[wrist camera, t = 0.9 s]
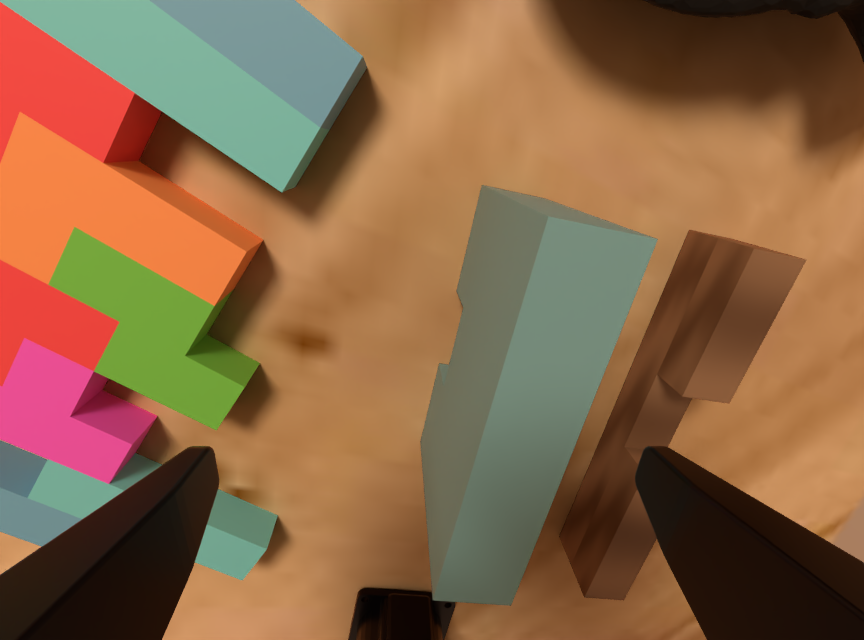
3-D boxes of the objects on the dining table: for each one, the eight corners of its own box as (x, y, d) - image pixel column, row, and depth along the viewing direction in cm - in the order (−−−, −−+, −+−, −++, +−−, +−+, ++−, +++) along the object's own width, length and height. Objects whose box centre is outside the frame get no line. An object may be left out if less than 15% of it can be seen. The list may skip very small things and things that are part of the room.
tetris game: (-343, 338, 19) (236, 565, 27) (-457, 368, 17) (219, 609, 25) (-230, -420, 12) (522, 195, 20) (-405, -577, 9) (540, 203, 17)
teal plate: (472, 448, 24) (511, 605, 16) (420, 441, 24) (432, 600, 16) (545, 198, 19) (657, 239, 11) (481, 184, 19) (548, 216, 11)
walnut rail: (593, 539, 28) (623, 600, 24) (559, 536, 27) (584, 597, 24) (733, 239, 21) (806, 259, 17) (689, 229, 20) (754, 248, 17)
